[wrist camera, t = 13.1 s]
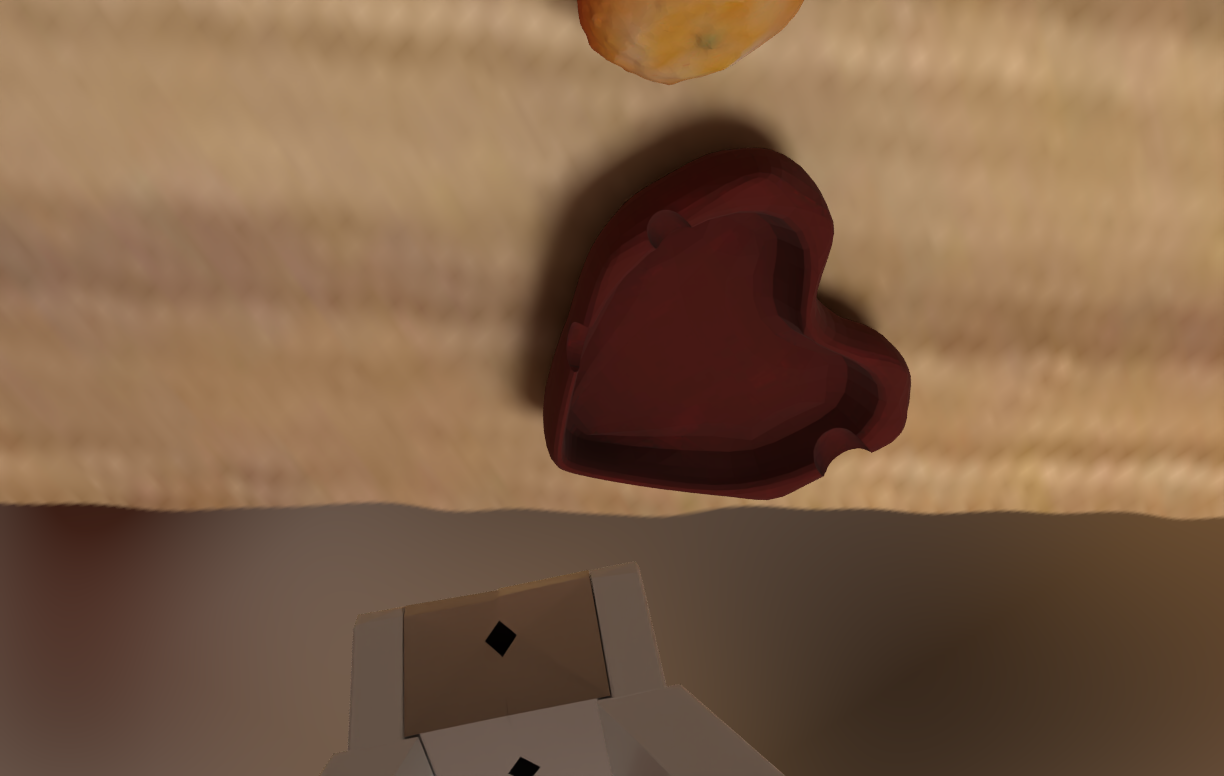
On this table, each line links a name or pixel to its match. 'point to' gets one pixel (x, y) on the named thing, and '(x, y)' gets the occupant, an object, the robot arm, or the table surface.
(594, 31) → the fruit
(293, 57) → the table surface
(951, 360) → the table surface
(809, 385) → the ashtray
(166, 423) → the table surface
